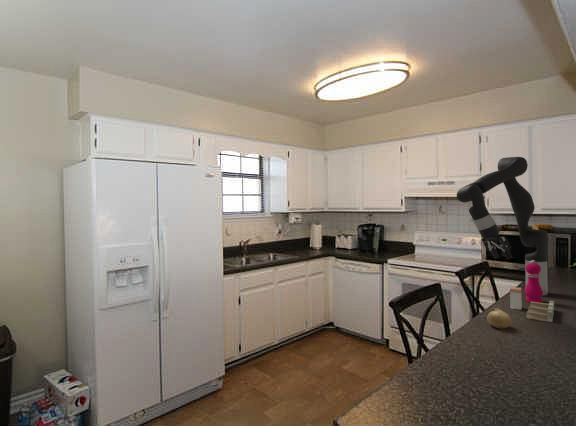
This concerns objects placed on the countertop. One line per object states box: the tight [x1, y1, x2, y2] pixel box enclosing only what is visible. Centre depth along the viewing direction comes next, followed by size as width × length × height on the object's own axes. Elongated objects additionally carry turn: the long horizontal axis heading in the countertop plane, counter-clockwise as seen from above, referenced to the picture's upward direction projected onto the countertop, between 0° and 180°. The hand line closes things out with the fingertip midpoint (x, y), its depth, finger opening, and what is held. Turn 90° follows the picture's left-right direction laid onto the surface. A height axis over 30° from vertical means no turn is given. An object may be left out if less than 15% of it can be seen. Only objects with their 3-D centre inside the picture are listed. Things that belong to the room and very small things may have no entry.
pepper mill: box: [524, 260, 543, 303], centre depth 164 cm, size 7×7×20 cm
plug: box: [509, 286, 523, 311], centre depth 155 cm, size 4×4×9 cm
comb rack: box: [525, 300, 555, 323], centre depth 146 cm, size 18×8×4 cm, turn 140°
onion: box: [486, 307, 512, 330], centre depth 133 cm, size 8×8×7 cm
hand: (503, 258), depth 153 cm, fingers open, 8 cm apart
